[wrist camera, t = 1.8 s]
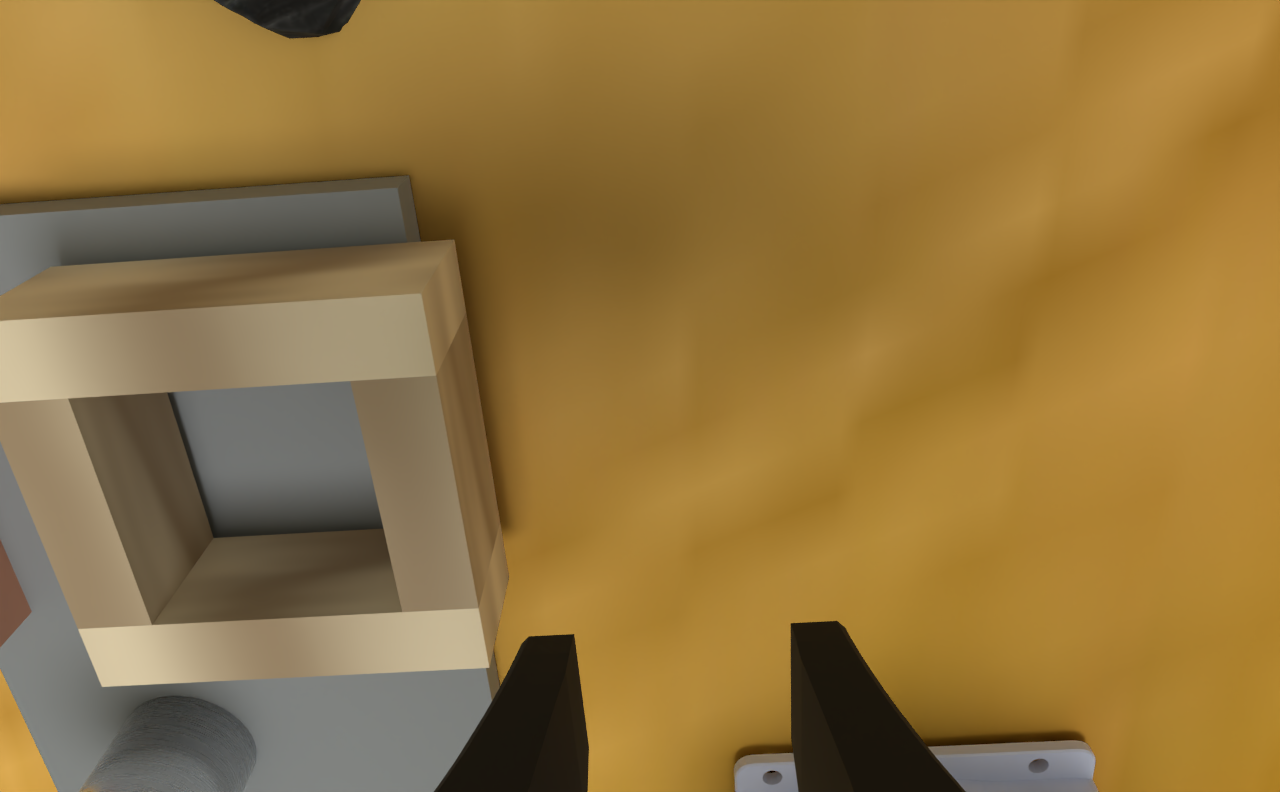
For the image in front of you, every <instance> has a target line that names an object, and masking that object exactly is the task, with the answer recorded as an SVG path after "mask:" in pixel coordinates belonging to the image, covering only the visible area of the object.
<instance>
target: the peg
mask: <svg viewBox="0 0 1280 792" xmlns="http://www.w3.org/2000/svg"><path fill="white" fill-rule="evenodd" d="M256 758H257V750H256V745H255V742H254V740H253V737H252V735H251V734H250V732H249V730H248V729H247V728H246V726H245V725H244V724H243V723H242V722H241V721H240V720H239V719H238V718H237V717H235V716H234V715H233V714H232V713H230V712H229V711H227V710H225V709H224V708H222V707H220V706H218V705H216V704H214V703H211V702H208V701H206V700H202V699H199V698H194V697H188V696H164V697H159V698H155V699H152V700H149V701H147V702H145V703H143V704H141V705H139V706H138V707H137V708H135V709H134V710H133V711H132V712H131V713H130V715H129V716H128V718H127V719H126V721H125V722H124V724H123V725H122V727H121V728H120V730H119V731H118V733H117V734H116V736H115V737H114V739H113V741H112V742H111V744H110V745H109V747H108V748H107V750H106V751H105V753H104V754H103V756H102V757H101V759H100V760H99V762H98V763H97V765H96V766H95V768H94V769H93V771H92V772H91V774H90V775H89V777H88V779H87V780H86V782H85V783H84V785H83V786H82V788H81V789H80V791H79V792H243V790H244V788H245V786H246V784H247V782H248V780H249V778H250V776H251V773H252V771H253V769H254V767H255V764H256Z"/></svg>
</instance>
